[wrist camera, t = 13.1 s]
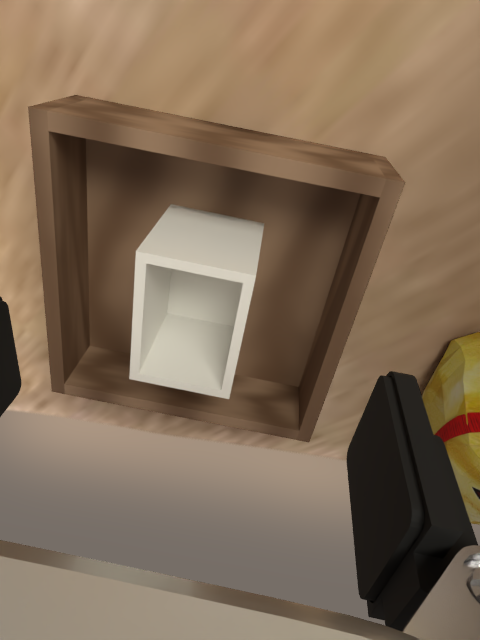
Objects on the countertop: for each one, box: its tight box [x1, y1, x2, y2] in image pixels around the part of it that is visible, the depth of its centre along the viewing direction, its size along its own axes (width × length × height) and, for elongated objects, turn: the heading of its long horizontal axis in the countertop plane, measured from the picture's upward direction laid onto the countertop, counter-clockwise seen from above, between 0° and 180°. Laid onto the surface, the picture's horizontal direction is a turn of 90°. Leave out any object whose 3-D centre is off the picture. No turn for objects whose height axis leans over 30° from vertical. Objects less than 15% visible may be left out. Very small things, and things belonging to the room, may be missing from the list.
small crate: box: [129, 204, 264, 399], centre depth 29 cm, size 6×9×8 cm
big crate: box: [28, 95, 405, 442], centre depth 31 cm, size 20×20×6 cm
